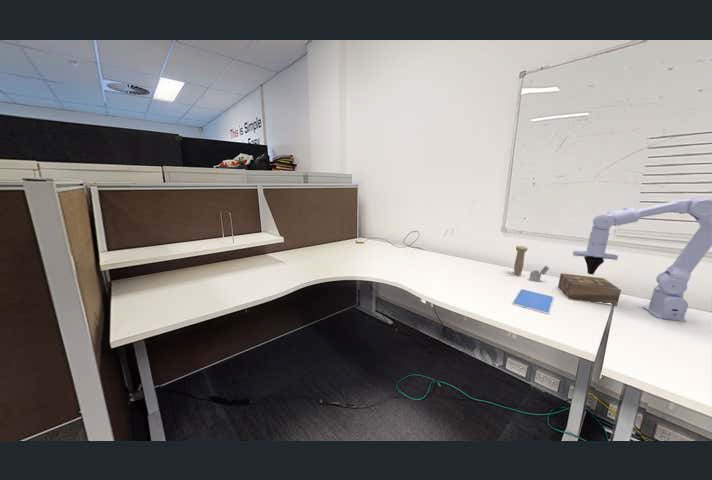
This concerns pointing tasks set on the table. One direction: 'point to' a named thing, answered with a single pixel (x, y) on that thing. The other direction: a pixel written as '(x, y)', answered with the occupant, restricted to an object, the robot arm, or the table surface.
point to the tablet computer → (534, 301)
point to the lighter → (538, 274)
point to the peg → (588, 281)
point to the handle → (519, 259)
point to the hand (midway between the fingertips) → (590, 273)
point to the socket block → (589, 289)
